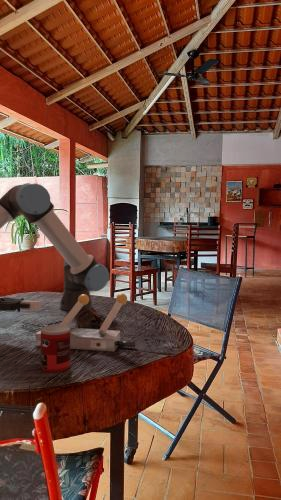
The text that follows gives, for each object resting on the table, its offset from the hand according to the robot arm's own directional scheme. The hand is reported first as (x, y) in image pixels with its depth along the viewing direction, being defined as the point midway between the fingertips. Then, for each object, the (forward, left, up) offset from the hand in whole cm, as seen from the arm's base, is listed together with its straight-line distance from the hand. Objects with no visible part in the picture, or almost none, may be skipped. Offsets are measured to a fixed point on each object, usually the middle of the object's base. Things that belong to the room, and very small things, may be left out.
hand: (40, 305), depth 126 cm
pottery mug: (-20, +11, -13) cm, 26 cm away
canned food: (+20, +13, -12) cm, 27 cm away
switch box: (0, +16, -12) cm, 21 cm away
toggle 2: (0, +21, -7) cm, 23 cm away
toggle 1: (0, +7, -7) cm, 10 cm away
